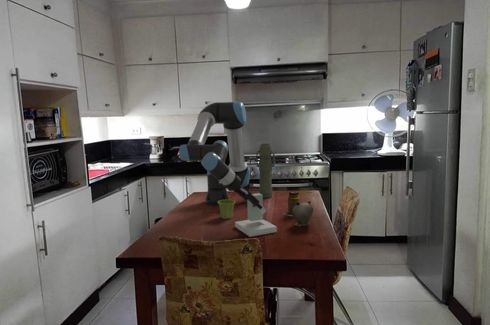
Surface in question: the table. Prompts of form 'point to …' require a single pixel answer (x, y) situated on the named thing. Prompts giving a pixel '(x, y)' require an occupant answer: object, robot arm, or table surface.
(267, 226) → the socket plate
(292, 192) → the condiment
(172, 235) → the table surface
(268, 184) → the thermos
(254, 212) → the key block
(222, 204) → the plant pot
